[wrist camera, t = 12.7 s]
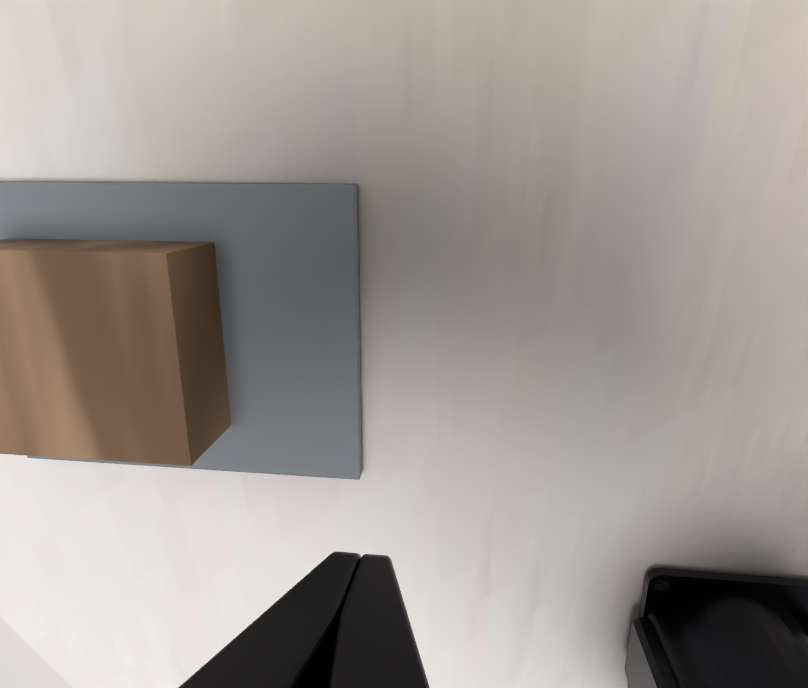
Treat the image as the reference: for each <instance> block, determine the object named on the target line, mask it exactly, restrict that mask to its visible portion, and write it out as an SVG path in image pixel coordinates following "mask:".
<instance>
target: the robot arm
mask: <svg viewBox="0 0 808 688" xmlns="http://www.w3.org/2000/svg"><path fill="white" fill-rule="evenodd" d="M661 580H663V581H664V582H663V583H662V584H656V582H658V581H661ZM625 672H626V675H627V678H628V681H629V683H628V688H808V580H806V579H793V578H780V577H768V576H755V575H742V574H730V573H717V572H704V571H692V570H679V569H666V568H655V569H652V570H650V571H649V572H648V573H647V574H646V577H645V582H644V588H643V594H642V601H641V607H640V613H639V617H636V618H635V619H634V620H633V621H632V624H631V631H630V637H629V643H628V650H627V656H626V663H625ZM179 688H429V684H428V681H427V678H426V674H425V671H424V668H423V664H422V661H421V658H420V654H419V651H418V648H417V645H416V641H415V638H414V635H413V631H412V628H411V625H410V621H409V618H408V615H407V611H406V608H405V605H404V601H403V598H402V595H401V591H400V588H399V585H398V581H397V578H396V575H395V571H394V568H393V565H392V561H391V559H390V557H388V556H385V555H373V554H365V555H363V556H362V557H361V556H360V555H359V554H358V553H348V552H334V553H332V554H330V555H329V556H328V557H327V558H326V559H325V560H323V561H322V562H321V563H320V564H319V565H318V566H317V567H316V568H314V569H313V570H312V571H311V572H310V573H309V574H308V575H306V576H305V577H304V578H303V579H302V580H301V581H300V582H298V583H297V584H296V585H295V586H294V587H293V588H292V589H290V590H289V591H288V592H287V593H286V594H285V595H284V596H282V597H281V598H280V599H279V600H278V601H277V602H276V603H274V604H273V605H272V606H271V607H270V608H269V609H268V610H267V611H265V612H264V613H263V614H262V615H261V616H260V617H259V618H257V619H256V620H255V621H254V622H253V623H252V624H251V625H249V626H248V627H247V628H246V629H245V630H244V631H243V632H241V633H240V634H239V635H238V636H237V637H236V638H235V639H233V640H232V641H231V642H230V643H229V644H228V645H227V646H225V647H224V648H223V649H222V650H221V651H220V652H219V653H217V654H216V655H215V656H214V657H213V658H212V659H211V660H210V661H208V662H207V663H206V664H205V665H204V666H203V667H202V668H200V669H199V670H198V671H197V672H196V673H195V674H194V675H192V676H191V677H190V678H189V679H188V680H187V681H186V682H184V683H183V684H182V685H181V686H180V687H179Z"/></svg>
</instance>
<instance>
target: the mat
mask: <svg viewBox="0 0 808 688" xmlns="http://www.w3.org/2000/svg"><path fill="white" fill-rule="evenodd" d="M10 238H17V239H71V240H126V241H180V242H214V244H215V255H216V266H217V277H218V287H219V298H220V309H221V320H222V331H223V341H224V352H225V363H226V374H227V384H228V395H229V406H230V417H231V426H230V427H229V428H228V429H227V430H226V431H225V432H224V433H223V434H222V435H221V436H220V437H219V438H218V439H217V440H216V441H215V442H214V443H213V444H212V445H211V446H210V447H209V448H208V449H207V450H206V451H205V452H204V453H203V454H202V455H201V456H200V457H199V458H198V459H197V460H196V462H195V463H194V464H193V465H192V466H184V465H169V464H153V463H138V462H122V461H107V460H91V459H76V458H61V457H45V456H30V455H27V457H28V458H39V459H54V460H70V461H85V462H100V463H115V464H130V465H145V466H161V467H176V468H191V469H206V470H221V471H236V472H252V473H267V474H282V475H297V476H312V477H327V478H343V479H358V480H359V479H360V476H361V474H362V431H361V374H360V318H359V261H358V204H357V184H263V183H120V182H0V240H1V239H10Z"/></svg>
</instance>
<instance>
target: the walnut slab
mask: <svg viewBox="0 0 808 688" xmlns="http://www.w3.org/2000/svg"><path fill="white" fill-rule="evenodd" d="M230 426H231V417H230V406H229V395H228V384H227V374H226V363H225V352H224V341H223V331H222V320H221V309H220V298H219V287H218V277H217V266H216V255H215V244H214V242H180V241H126V240H71V239H17V238H10V239H1V240H0V454H14V455H30V456H45V457H61V458H76V459H91V460H107V461H122V462H138V463H153V464H169V465H184V466H192V465H193V464H194V463H195V462H196V460H197V459H198V458H199V457H200V456H201V455H202V454H203V453H204V452H205V451H206V450H207V449H208V448H209V447H210V446H211V445H212V444H213V443H214V442H215V441H216V440H217V439H218V438H219V437H220V436H221V435H222V434H223V433H224V432H225V431H226V430H227V429H228V428H229V427H230Z"/></svg>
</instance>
